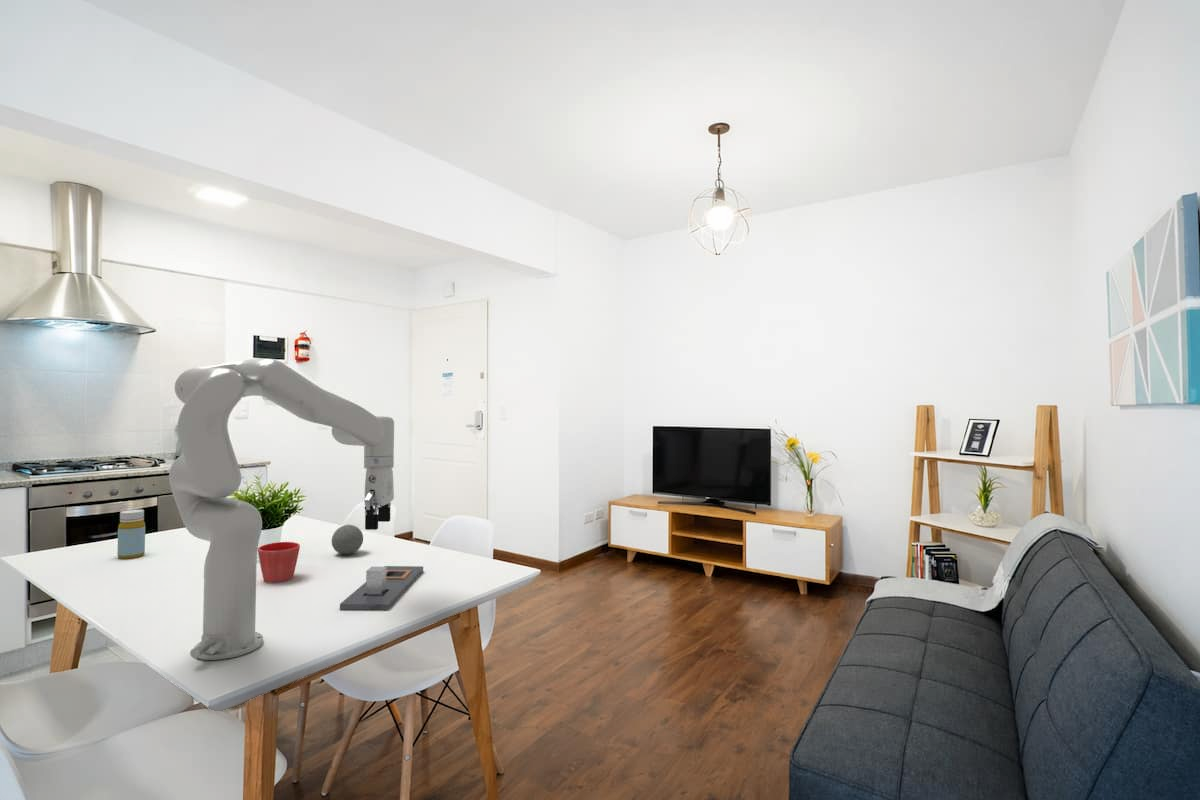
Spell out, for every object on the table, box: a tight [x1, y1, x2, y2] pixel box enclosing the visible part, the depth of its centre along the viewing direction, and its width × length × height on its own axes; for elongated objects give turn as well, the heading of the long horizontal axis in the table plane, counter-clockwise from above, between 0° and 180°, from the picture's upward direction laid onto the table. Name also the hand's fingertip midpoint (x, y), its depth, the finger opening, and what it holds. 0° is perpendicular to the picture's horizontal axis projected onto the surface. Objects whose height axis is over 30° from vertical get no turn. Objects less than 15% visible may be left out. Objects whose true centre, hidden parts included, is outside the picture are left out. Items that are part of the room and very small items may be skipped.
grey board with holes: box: [339, 565, 424, 611], centre depth 165 cm, size 34×12×2 cm, turn 2°
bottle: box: [117, 509, 146, 560], centre depth 192 cm, size 7×7×15 cm
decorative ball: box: [331, 524, 364, 556], centre depth 200 cm, size 10×10×10 cm
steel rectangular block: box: [365, 566, 387, 596], centre depth 157 cm, size 4×4×8 cm
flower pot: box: [257, 541, 301, 583], centre depth 172 cm, size 11×11×10 cm
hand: (378, 525), depth 157 cm, fingers open, 9 cm apart
